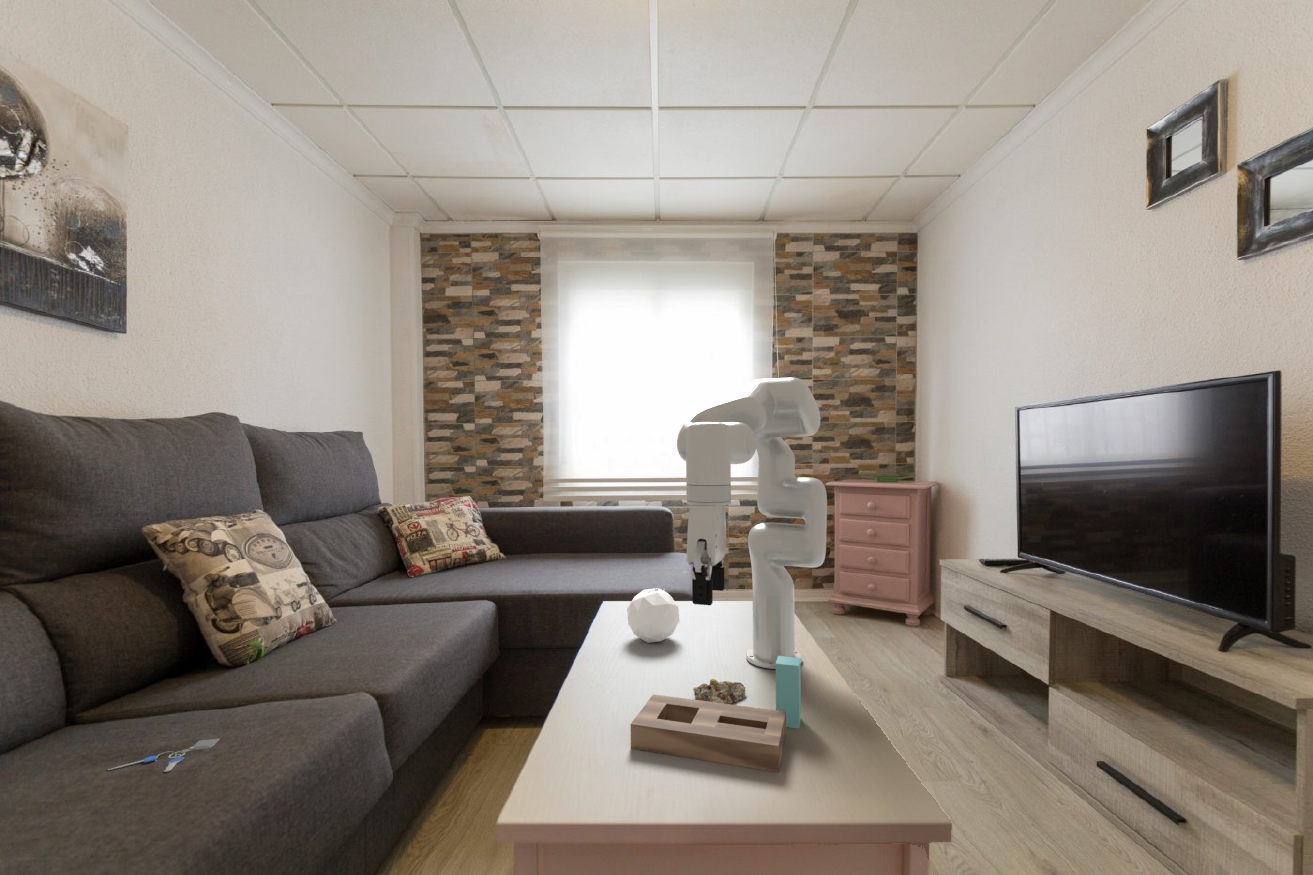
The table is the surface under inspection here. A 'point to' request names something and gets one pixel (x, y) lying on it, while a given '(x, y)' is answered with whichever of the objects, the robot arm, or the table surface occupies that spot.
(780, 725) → the bore board
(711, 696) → the mineral rock
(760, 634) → the robot arm
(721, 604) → the table surface
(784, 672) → the square peg
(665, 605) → the geodesic sphere
